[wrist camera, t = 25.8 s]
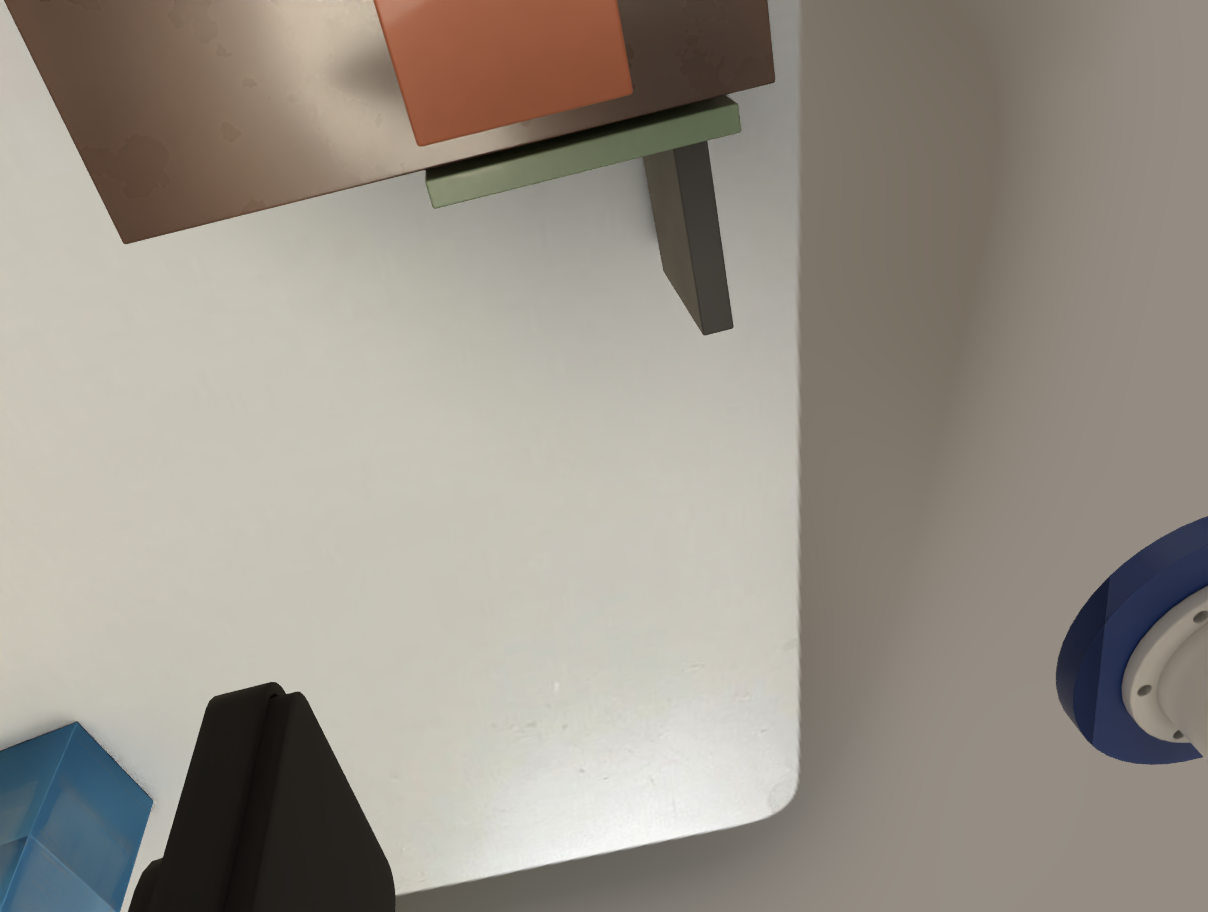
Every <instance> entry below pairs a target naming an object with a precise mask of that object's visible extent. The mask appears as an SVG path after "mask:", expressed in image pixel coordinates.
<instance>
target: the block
mask: <svg viewBox="0 0 1208 912" xmlns="http://www.w3.org/2000/svg"><path fill="white" fill-rule="evenodd" d="M373 1H374V5H375V8H376V11H377V14H378V18H379V21H380V24H381V28H382V31H383V34H384V38H385V41H386V44H387V48H388V51H389V54H390V57H391V61H392V64H393V67H394V71H395V74H396V77H397V81H398V84H399V87H400V91H401V94H402V97H403V100H404V104H405V107H406V110H407V114H408V117H409V120H410V124H411V127H412V130H413V134H414V137H415V140H416V143H417V145H418V146H420V147H423V146H427V145H431V144H435V143H439V142H443V141H447V140H451V139H455V138H459V137H463V136H467V135H471V134H475V133H479V132H483V131H487V130H491V129H495V128H499V127H503V126H507V125H511V124H515V123H519V122H523V121H527V120H531V119H535V118H539V117H543V116H547V115H551V114H556V113H560V112H564V111H568V110H572V109H576V108H580V107H584V106H588V105H592V104H596V103H600V102H604V101H608V100H612V99H616V98H620V97H624V96H628V95H631V94H632V92H633V88H632V82H631V77H630V71H629V65H628V60H627V54H626V49H625V43H624V37H623V32H622V26H621V20H620V15H619V9H618V4H617V0H373Z"/></svg>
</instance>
